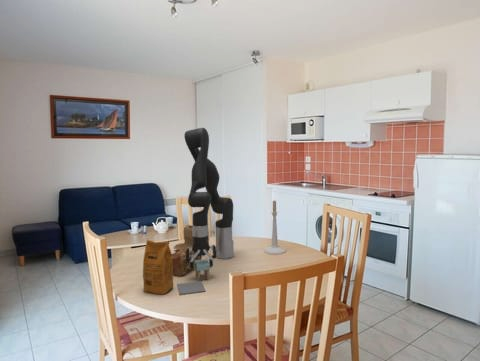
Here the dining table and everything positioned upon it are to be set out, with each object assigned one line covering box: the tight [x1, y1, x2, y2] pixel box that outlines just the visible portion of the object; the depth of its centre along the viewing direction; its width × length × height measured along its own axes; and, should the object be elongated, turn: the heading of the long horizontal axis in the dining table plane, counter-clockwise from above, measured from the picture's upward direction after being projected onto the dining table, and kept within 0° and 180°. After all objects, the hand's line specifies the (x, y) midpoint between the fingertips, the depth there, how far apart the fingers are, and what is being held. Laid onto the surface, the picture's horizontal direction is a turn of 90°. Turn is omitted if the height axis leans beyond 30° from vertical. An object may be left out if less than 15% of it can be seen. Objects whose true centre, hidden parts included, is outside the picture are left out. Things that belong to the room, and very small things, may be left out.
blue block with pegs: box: [194, 258, 211, 281], centre depth 169 cm, size 6×8×7 cm
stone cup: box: [173, 224, 193, 251], centre depth 211 cm, size 15×12×15 cm
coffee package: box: [142, 239, 174, 295], centre depth 155 cm, size 10×12×22 cm
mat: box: [176, 280, 206, 296], centre depth 157 cm, size 11×11×1 cm
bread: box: [171, 249, 203, 277], centre depth 180 cm, size 19×11×10 cm, turn 154°
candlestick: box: [263, 200, 287, 256], centre depth 206 cm, size 13×13×30 cm
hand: (201, 268), depth 169 cm, fingers open, 8 cm apart
